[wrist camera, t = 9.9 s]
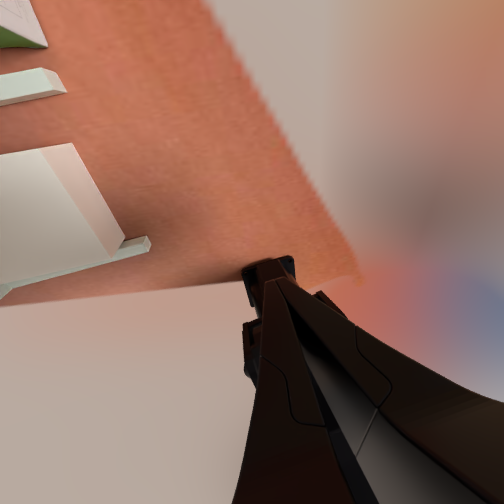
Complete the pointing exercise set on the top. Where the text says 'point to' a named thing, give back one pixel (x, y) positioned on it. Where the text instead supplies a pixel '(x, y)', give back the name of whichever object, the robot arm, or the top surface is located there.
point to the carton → (51, 214)
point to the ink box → (20, 25)
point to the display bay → (39, 86)
